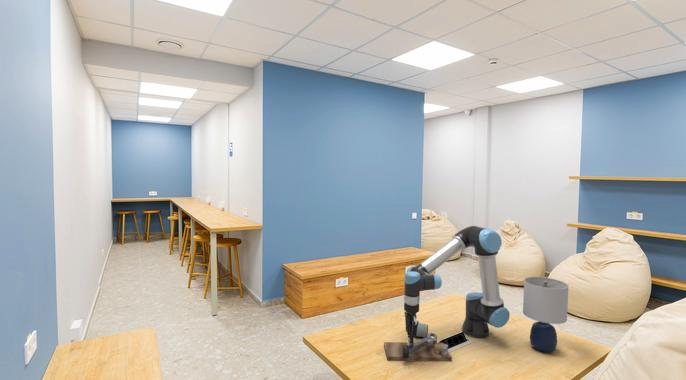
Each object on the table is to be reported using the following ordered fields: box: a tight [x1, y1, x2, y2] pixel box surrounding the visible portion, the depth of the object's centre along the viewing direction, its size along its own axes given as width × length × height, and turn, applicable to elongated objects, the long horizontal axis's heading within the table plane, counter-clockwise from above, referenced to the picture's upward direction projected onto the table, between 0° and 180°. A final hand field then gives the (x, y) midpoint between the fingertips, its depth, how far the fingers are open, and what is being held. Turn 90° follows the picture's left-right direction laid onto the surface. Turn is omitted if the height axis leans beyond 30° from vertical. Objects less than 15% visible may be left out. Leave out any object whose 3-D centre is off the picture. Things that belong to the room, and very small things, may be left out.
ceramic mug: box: [416, 322, 429, 338], centre depth 204 cm, size 11×8×8 cm
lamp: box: [522, 276, 569, 353], centre depth 188 cm, size 20×20×37 cm
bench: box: [383, 341, 453, 362], centre depth 183 cm, size 32×15×6 cm, turn 90°
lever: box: [402, 332, 438, 358], centre depth 180 cm, size 26×5×5 cm, turn 130°
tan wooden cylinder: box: [435, 344, 442, 354], centre depth 180 cm, size 4×4×4 cm
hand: (410, 348), depth 179 cm, fingers closed
